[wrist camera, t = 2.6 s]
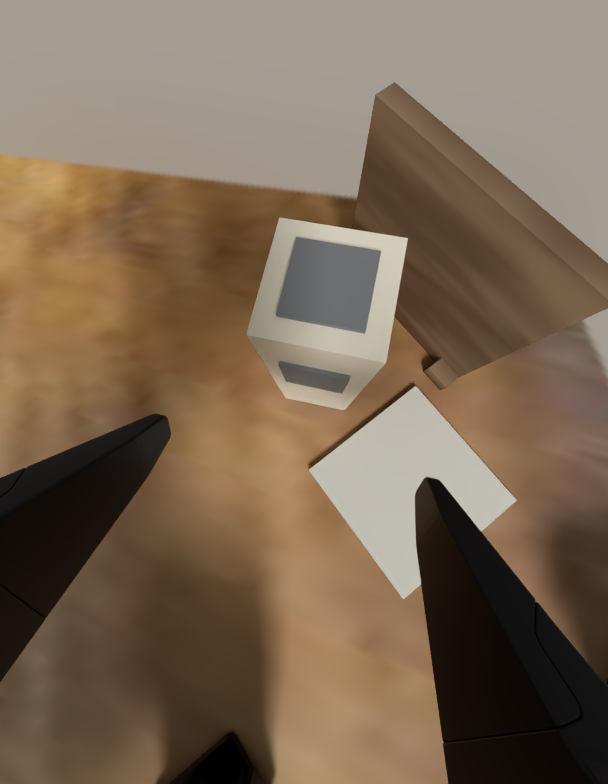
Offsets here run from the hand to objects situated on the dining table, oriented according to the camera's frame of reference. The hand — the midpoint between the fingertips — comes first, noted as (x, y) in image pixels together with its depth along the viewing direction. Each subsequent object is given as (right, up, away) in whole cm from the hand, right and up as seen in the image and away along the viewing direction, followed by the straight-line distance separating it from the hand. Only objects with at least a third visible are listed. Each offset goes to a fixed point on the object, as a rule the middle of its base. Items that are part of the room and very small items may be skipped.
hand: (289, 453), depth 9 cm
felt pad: (+9, -5, +11) cm, 15 cm away
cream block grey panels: (+2, +4, +13) cm, 14 cm away
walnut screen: (+9, +9, +14) cm, 19 cm away
